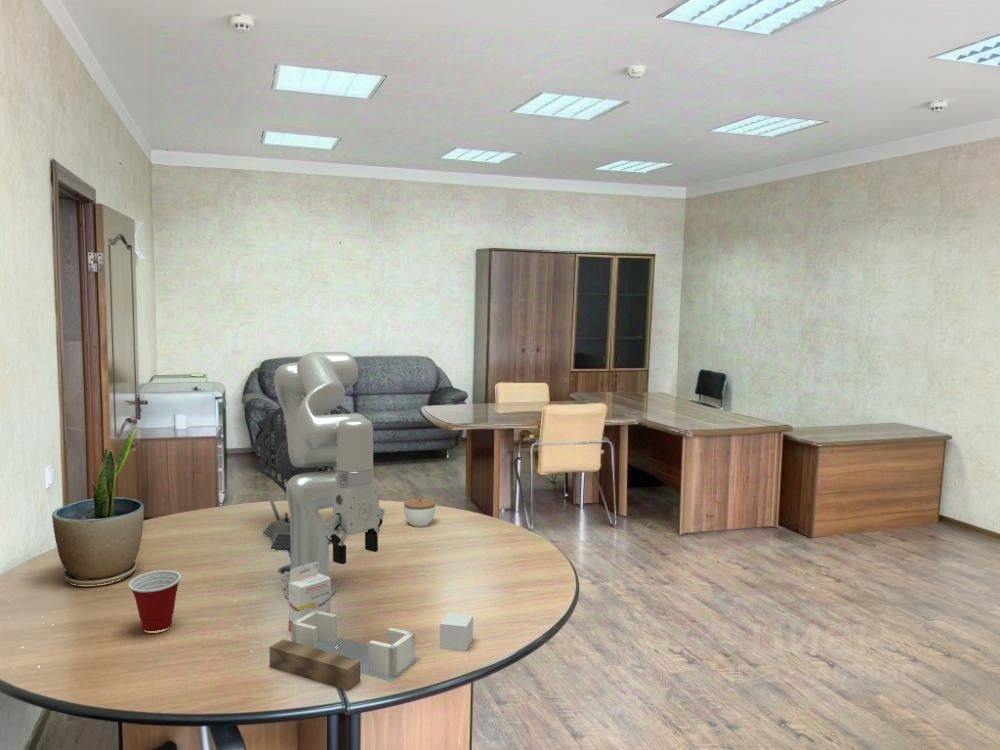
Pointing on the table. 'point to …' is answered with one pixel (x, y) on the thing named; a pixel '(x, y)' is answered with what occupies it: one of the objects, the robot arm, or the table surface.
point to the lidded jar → (419, 511)
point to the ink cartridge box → (308, 592)
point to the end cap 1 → (314, 629)
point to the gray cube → (456, 631)
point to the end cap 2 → (392, 653)
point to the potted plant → (100, 529)
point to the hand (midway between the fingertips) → (355, 556)
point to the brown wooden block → (315, 664)
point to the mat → (356, 655)
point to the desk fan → (281, 469)
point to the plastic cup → (155, 598)
